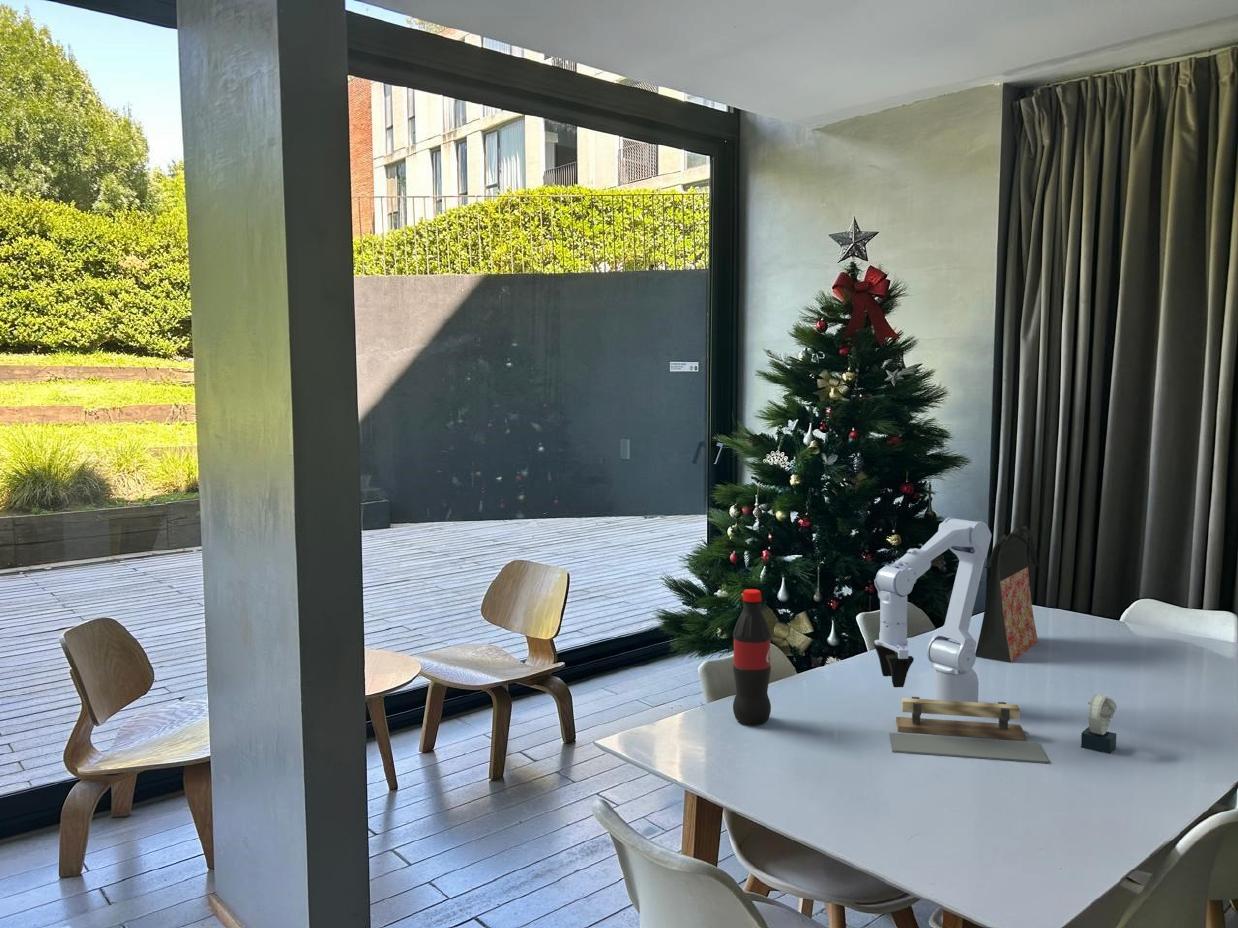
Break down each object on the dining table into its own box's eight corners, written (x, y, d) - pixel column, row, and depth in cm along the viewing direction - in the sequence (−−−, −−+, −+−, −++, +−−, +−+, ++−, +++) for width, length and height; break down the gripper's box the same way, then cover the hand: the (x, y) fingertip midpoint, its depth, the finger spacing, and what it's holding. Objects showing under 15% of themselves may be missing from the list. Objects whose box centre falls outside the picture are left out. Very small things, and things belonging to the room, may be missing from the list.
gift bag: (1022, 664, 253) (1025, 535, 250) (968, 655, 262) (971, 530, 259) (1051, 640, 276) (1055, 522, 273) (1001, 633, 284) (1004, 518, 281)
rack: (1020, 729, 206) (1020, 702, 205) (1025, 740, 200) (1026, 711, 199) (896, 721, 211) (896, 694, 211) (898, 731, 206) (898, 703, 205)
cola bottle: (775, 717, 215) (775, 587, 213) (764, 729, 207) (765, 595, 205) (739, 712, 219) (739, 584, 216) (728, 724, 211) (727, 592, 208)
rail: (1017, 715, 204) (1017, 704, 204) (1019, 719, 202) (1019, 708, 201) (901, 708, 209) (901, 697, 209) (902, 711, 207) (902, 701, 207)
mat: (1038, 744, 197) (1038, 742, 197) (1048, 763, 188) (1048, 761, 188) (889, 734, 204) (889, 732, 204) (892, 751, 194) (892, 749, 194)
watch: (1118, 745, 197) (1120, 693, 196) (1107, 756, 191) (1109, 703, 190) (1089, 738, 200) (1091, 688, 200) (1077, 749, 195) (1079, 697, 194)
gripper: (866, 613, 216) (865, 671, 217) (885, 630, 201) (884, 692, 202) (896, 612, 216) (896, 670, 217) (918, 629, 201) (917, 691, 202)
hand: (892, 681), depth 210 cm, fingers open, 7 cm apart
